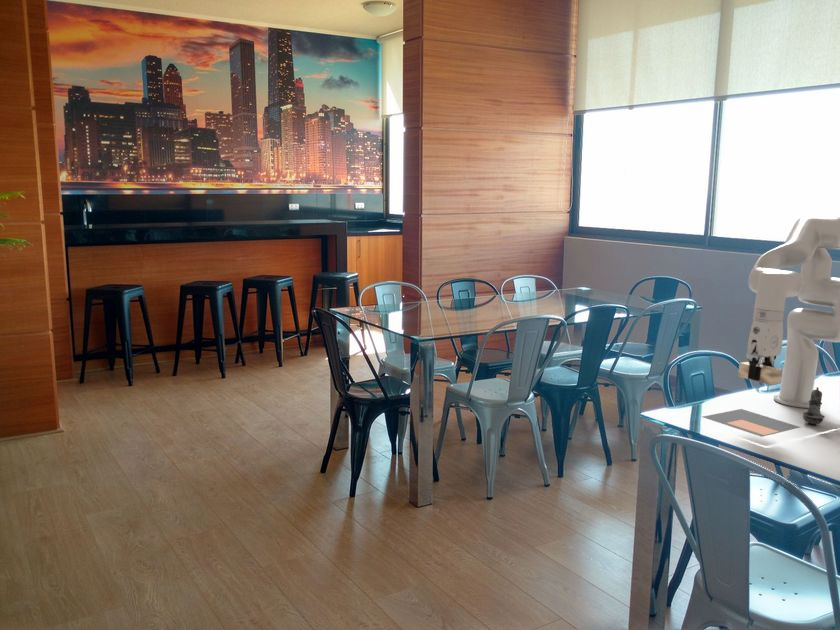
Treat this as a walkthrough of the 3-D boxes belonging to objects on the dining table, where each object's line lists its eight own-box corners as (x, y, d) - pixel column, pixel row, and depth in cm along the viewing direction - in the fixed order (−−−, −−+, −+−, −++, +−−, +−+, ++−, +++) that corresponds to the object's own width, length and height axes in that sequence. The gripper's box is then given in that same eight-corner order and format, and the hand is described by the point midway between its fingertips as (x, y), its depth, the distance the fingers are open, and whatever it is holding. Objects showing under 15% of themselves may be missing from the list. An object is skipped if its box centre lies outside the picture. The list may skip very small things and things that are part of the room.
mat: (741, 410, 227) (741, 408, 226) (800, 429, 211) (800, 426, 211) (701, 418, 216) (701, 416, 215) (761, 438, 200) (761, 436, 200)
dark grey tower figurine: (822, 425, 216) (828, 386, 214) (823, 431, 211) (830, 391, 209) (799, 422, 218) (805, 383, 216) (801, 427, 213) (807, 387, 211)
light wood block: (780, 383, 203) (782, 369, 202) (770, 385, 200) (772, 371, 200) (747, 374, 211) (749, 361, 210) (737, 376, 208) (739, 362, 208)
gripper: (763, 319, 195) (754, 385, 198) (797, 316, 204) (788, 379, 207) (738, 314, 201) (729, 378, 204) (772, 312, 210) (763, 373, 213)
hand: (759, 378), depth 206 cm, fingers closed on light wood block, 5 cm apart
